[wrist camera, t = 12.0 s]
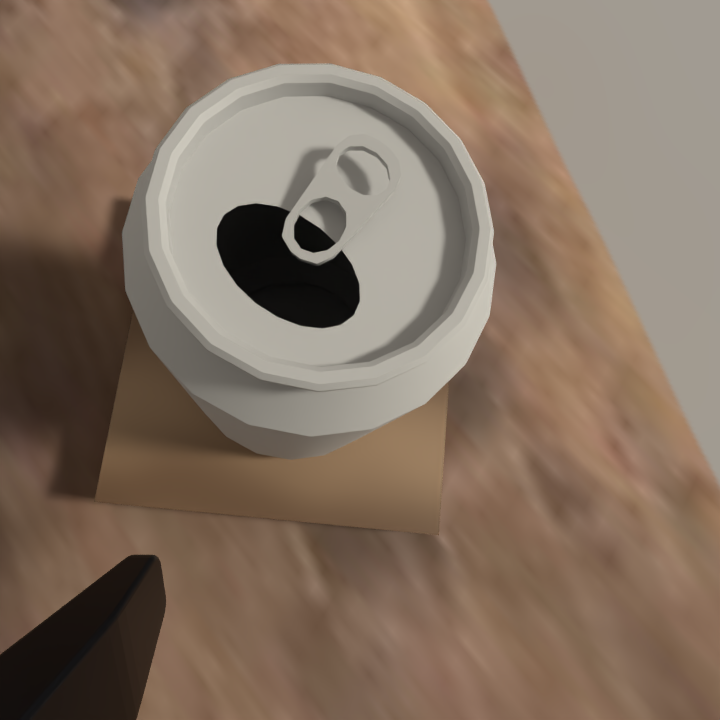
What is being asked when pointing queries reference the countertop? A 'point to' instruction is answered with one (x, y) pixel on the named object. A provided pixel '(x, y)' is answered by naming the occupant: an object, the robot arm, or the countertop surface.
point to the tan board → (264, 461)
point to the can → (309, 256)
